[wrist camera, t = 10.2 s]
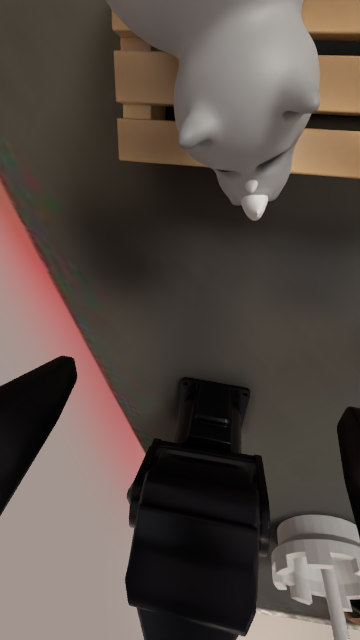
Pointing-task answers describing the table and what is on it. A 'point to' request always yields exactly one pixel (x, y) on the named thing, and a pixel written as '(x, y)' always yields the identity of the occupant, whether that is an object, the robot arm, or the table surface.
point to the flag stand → (319, 564)
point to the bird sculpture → (352, 616)
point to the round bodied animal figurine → (236, 85)
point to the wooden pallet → (159, 83)
